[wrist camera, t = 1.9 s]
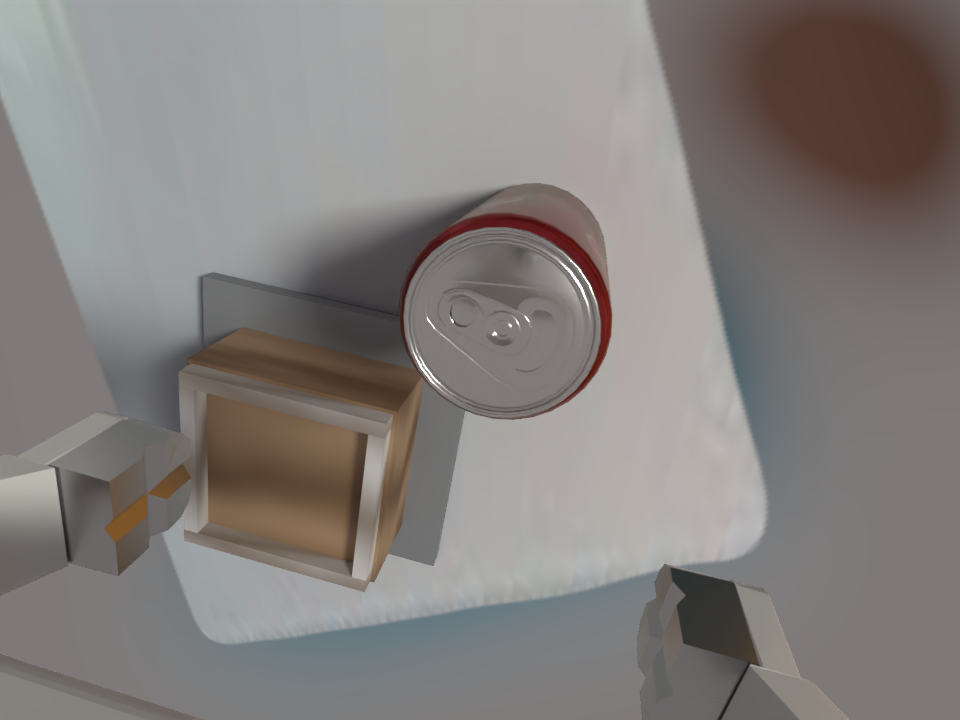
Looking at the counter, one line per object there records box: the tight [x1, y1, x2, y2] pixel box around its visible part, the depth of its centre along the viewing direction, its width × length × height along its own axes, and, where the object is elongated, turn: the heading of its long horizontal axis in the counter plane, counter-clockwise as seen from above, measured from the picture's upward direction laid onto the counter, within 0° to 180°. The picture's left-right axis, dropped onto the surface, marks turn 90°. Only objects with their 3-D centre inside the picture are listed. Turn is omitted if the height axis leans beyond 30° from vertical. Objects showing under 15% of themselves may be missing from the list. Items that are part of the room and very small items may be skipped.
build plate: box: [203, 273, 465, 566], centre depth 35 cm, size 16×16×1 cm
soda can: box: [399, 183, 612, 420], centre depth 24 cm, size 7×7×12 cm
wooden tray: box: [178, 327, 424, 592], centre depth 32 cm, size 11×11×6 cm
